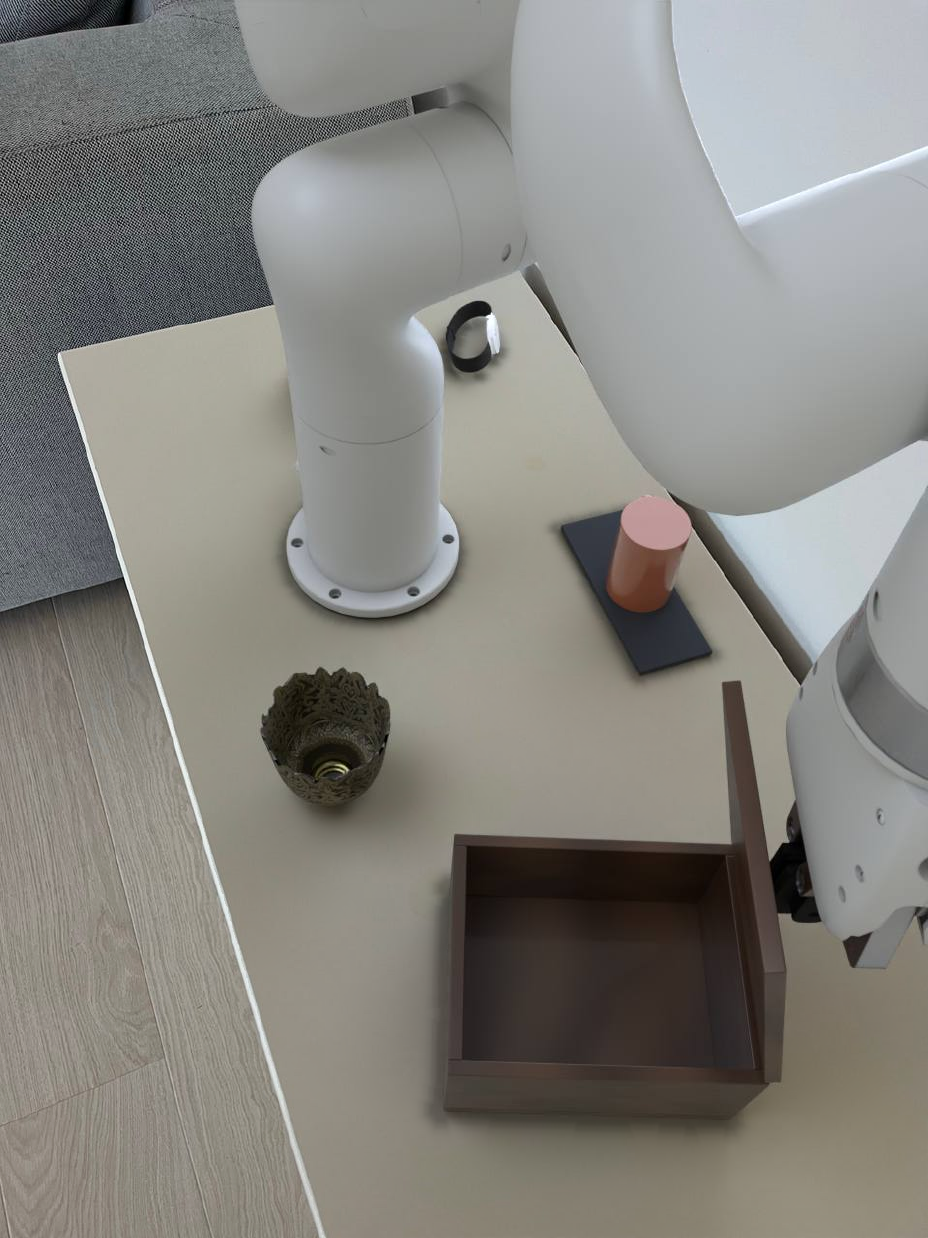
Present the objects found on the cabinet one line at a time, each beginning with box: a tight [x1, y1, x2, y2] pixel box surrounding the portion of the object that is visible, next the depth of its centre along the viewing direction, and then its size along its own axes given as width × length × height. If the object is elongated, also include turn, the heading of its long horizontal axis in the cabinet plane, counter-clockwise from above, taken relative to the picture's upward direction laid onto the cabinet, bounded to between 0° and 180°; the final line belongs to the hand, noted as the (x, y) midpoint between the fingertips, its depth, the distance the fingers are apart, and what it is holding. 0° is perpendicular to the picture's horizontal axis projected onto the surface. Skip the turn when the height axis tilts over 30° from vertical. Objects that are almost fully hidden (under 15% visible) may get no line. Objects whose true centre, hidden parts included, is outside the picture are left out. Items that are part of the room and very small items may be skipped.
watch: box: [445, 300, 501, 374], centre depth 92 cm, size 8×5×4 cm, turn 175°
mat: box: [560, 509, 713, 676], centre depth 78 cm, size 14×6×1 cm, turn 20°
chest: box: [442, 833, 771, 1120], centre depth 58 cm, size 15×12×8 cm
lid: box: [721, 679, 788, 1084], centre depth 48 cm, size 16×12×1 cm
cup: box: [259, 666, 392, 807], centre depth 65 cm, size 8×7×8 cm
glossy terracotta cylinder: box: [605, 494, 693, 613], centre depth 76 cm, size 6×5×7 cm
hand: (795, 897), depth 48 cm, fingers closed
